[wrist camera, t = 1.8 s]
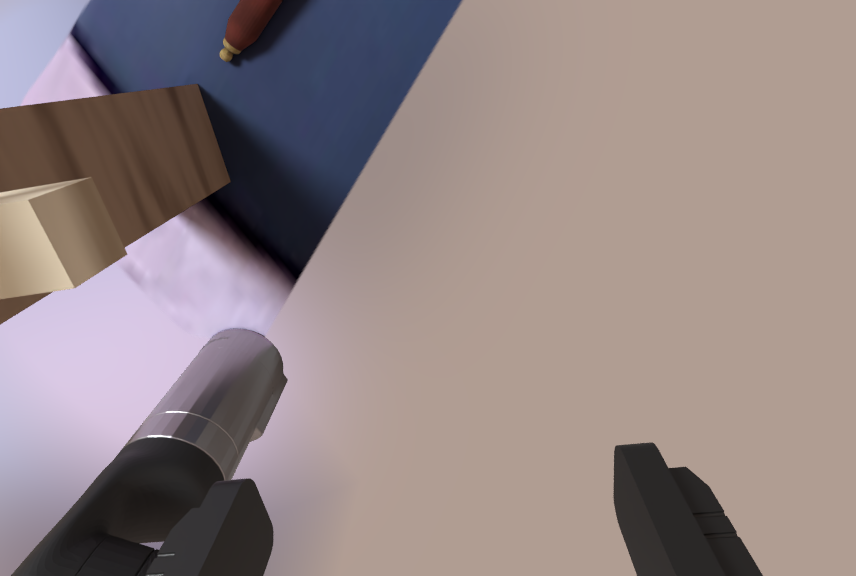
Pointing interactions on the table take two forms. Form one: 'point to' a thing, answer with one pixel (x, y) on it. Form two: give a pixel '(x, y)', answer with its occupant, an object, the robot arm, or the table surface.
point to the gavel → (246, 25)
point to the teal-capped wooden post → (115, 156)
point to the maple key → (54, 238)
